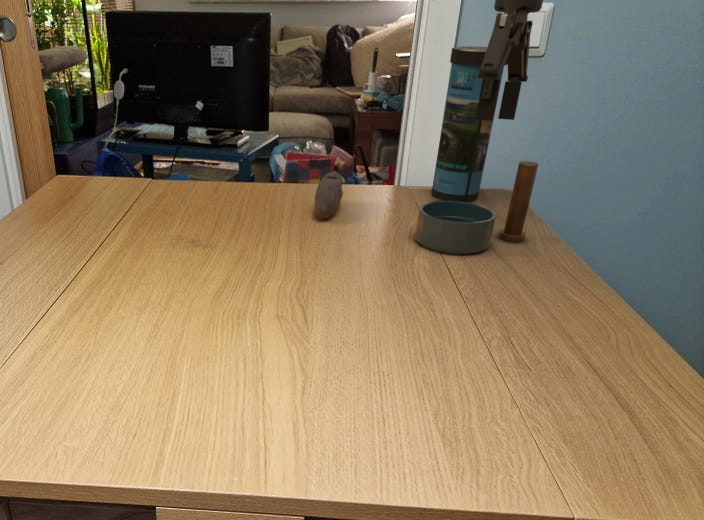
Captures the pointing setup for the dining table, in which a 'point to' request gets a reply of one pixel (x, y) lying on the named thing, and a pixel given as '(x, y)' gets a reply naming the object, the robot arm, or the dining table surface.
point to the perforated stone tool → (328, 194)
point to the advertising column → (463, 130)
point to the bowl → (455, 227)
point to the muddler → (519, 202)
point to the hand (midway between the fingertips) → (495, 120)
